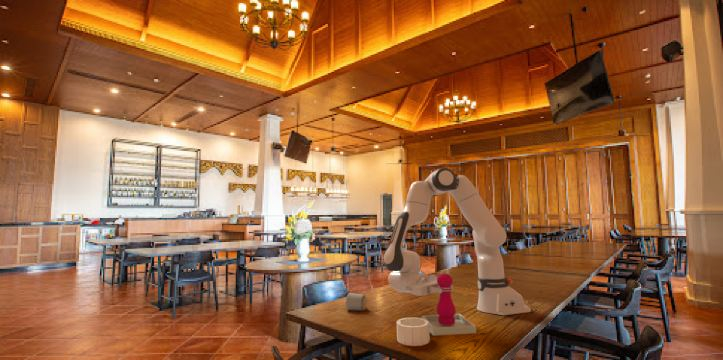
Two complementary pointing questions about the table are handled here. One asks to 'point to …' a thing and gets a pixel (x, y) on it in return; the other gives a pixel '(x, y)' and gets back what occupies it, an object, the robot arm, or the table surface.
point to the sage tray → (450, 326)
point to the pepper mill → (445, 300)
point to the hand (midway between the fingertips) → (447, 289)
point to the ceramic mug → (356, 302)
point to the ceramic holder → (413, 331)
